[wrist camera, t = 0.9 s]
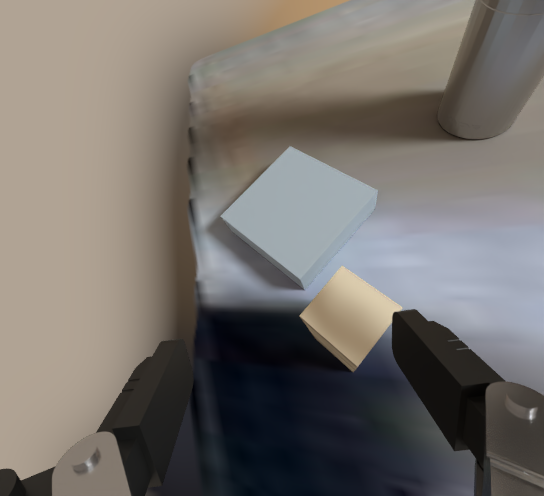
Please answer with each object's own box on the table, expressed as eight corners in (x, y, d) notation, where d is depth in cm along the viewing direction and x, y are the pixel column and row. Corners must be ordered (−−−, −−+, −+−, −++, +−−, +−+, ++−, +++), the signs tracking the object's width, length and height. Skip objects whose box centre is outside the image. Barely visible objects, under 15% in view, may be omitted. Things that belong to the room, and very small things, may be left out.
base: (294, 165, 42) (289, 146, 38) (374, 209, 35) (377, 190, 32) (231, 230, 39) (220, 216, 36) (305, 290, 33) (300, 279, 30)
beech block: (343, 304, 31) (342, 265, 21) (382, 334, 29) (402, 307, 19) (315, 338, 30) (299, 315, 20) (353, 372, 28) (357, 366, 18)
